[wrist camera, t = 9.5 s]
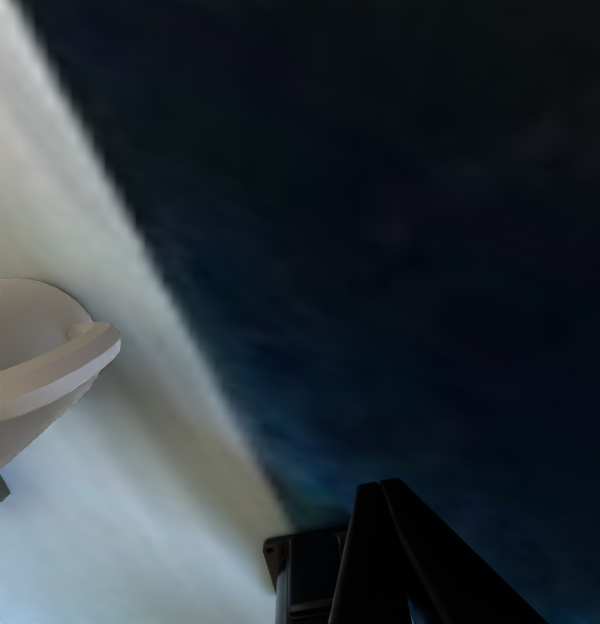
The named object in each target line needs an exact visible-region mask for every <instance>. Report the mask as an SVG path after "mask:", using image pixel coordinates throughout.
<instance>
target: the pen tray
mask: <svg viewBox="0 0 600 624" xmlns="http://www.w3.org/2000/svg"><path fill="white" fill-rule="evenodd" d="M9 494H10V491H9V490H8V488H7V486H6V484H5V483H4V481H3V479H2V477H1V475H0V503H1V502H2V501H3V500H4V499H5V498H6V497H7V496H8V495H9Z"/></svg>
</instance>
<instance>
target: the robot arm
mask: <svg viewBox="0 0 600 624" xmlns="http://www.w3.org/2000/svg"><path fill="white" fill-rule="evenodd" d="M263 553H264V557H265V560H266V563H267V566H268V570H269V573H270V576H271V579H272V583H273V586H274V589H275V592H276V614H275V624H412V621H411V615H412V618H413V621H414V624H548V623H547V622H546V621H545V620H544V619H543V618H542V617H541V616H540V615H539V614H538V613H537V612H536V611H535V610H534V609H533V608H532V607H531V606H530V605H529V604H528V603H527V602H526V601H525V600H524V599H523V598H522V597H521V596H520V595H519V594H518V593H517V592H516V591H515V590H514V589H513V588H511V587H510V586H509V585H508V584H507V583H506V582H505V581H504V580H503V579H502V578H501V577H500V576H499V575H498V574H497V573H496V572H495V571H494V570H493V569H492V568H491V567H490V566H489V565H488V564H487V563H486V562H485V561H484V560H483V559H482V558H481V557H480V556H479V555H478V554H477V553H476V552H475V551H474V550H472V549H471V548H470V547H469V546H468V545H467V544H466V543H465V542H464V541H463V540H462V539H461V538H460V537H459V536H458V535H457V534H456V533H455V532H454V531H453V530H452V529H451V528H450V527H449V526H448V525H447V524H446V523H445V522H444V521H443V520H442V519H441V518H440V517H439V516H438V515H437V514H436V513H435V512H433V511H432V510H431V509H430V508H429V507H428V506H427V505H426V504H425V503H424V502H423V501H422V500H421V499H420V498H419V497H418V496H417V495H416V494H415V493H414V492H413V491H412V490H411V489H410V488H409V487H408V486H407V485H406V484H405V483H404V482H403V481H402V480H400V479H399V478H392V479H387V480H382V481H380V482H379V484H378V483H377V482H371V483H366V484H361V485H359V486H358V487H357V490H356V495H355V500H354V505H353V509H352V514H351V519H350V523H349V526H343V527H337V528H331V529H325V530H319V531H313V532H307V533H301V534H295V535H289V536H283V537H277V538H271V539H267V540H266V541H264V543H263ZM409 608H410V609H409ZM410 612H411V615H410Z"/></svg>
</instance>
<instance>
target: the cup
mask: <svg viewBox="0 0 600 624" xmlns="http://www.w3.org/2000/svg"><path fill="white" fill-rule="evenodd" d="M120 346H121V332H120V331H119V330H118V329H117V328H116V327H115V326H114V325H113V324H112V323H108V322H93V320H92V318H91V317H90V315H89V313H88V312H87V311H86V310H85V309H84V308H83V307H82V306H81V305H80V304H79V303H78V302H77V301H76V300H75V299H73V298H72V297H70V296H69V295H67V294H66V293H64V292H63V291H61V290H60V289H58V288H56V287H53V286H51V285H48V284H46V283H43V282H41V281H38V280H31V279H25V278H11V279H0V469H2V468H3V467H4V466H5V465H6V464H7V463H8V462H9V461H11V460H12V459H13V458H14V457H15V456H16V455H17V454H18V453H20V452H21V451H22V450H23V449H24V448H25V447H26V446H27V445H28V444H30V443H31V442H32V441H33V440H34V439H35V438H36V437H37V436H39V435H40V434H41V433H42V432H43V431H44V430H45V429H46V428H48V427H49V426H50V425H51V424H52V423H53V422H54V421H55V420H56V419H58V418H59V417H60V416H61V415H62V414H63V413H64V412H65V411H67V410H68V409H69V408H70V407H71V406H72V405H73V404H74V403H76V402H77V401H78V400H79V399H80V398H81V397H82V396H83V395H84V394H85V393H86V392H87V391H88V390H89V389H90V387H91V386H92V384H93V383H94V382H95V380H96V379H97V378H98V375H99V372H100V370H101V369H103V368H104V367H105V366H106V365H107V364H109V363H110V362H111V361H112V360H113V359H114V358H115V357H116V356H117V354H118V353H119V352H120Z"/></svg>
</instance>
